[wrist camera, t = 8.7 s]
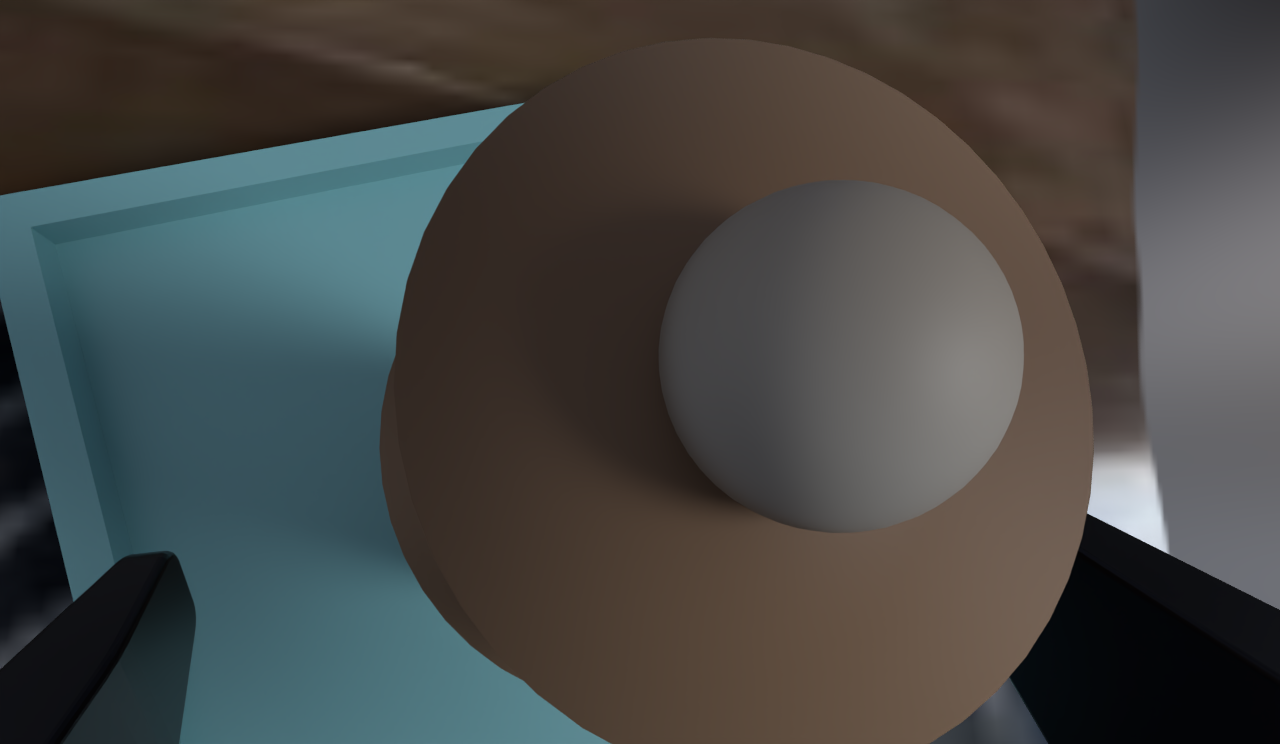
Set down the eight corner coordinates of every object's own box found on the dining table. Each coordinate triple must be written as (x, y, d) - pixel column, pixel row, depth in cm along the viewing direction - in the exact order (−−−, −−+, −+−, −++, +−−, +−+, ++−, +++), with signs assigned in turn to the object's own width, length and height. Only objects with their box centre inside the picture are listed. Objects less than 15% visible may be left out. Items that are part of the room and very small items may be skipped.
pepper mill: (606, 609, 17) (1435, 1051, 3) (394, 574, 16) (12, 991, 2) (643, 407, 19) (1357, 4, 4) (447, 363, 18) (467, -397, 3)
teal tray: (874, 718, 20) (920, 739, 18) (231, 1048, 15) (199, 1124, 13) (656, 115, 22) (676, 76, 20) (29, 236, 17) (-24, 199, 15)
